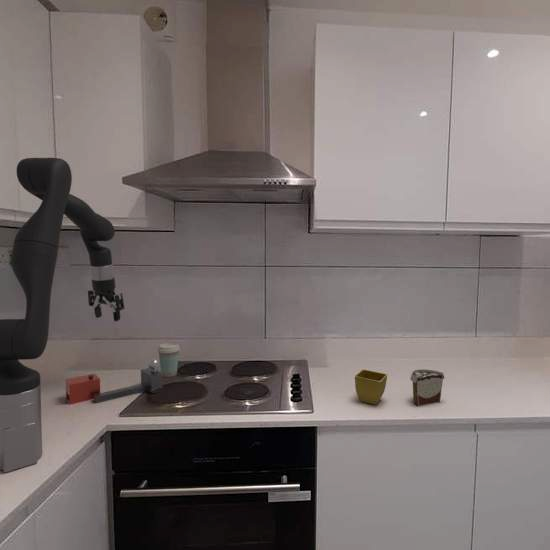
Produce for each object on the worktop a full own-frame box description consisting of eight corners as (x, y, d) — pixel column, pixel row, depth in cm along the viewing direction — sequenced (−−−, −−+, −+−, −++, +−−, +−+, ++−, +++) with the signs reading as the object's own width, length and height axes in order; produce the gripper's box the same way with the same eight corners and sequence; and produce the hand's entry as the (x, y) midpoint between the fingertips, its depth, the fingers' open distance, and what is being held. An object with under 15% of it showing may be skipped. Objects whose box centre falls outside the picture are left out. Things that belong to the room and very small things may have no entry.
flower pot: (387, 399, 122) (387, 373, 121) (379, 408, 114) (380, 381, 114) (361, 393, 126) (362, 369, 126) (353, 402, 119) (354, 376, 119)
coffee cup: (184, 374, 144) (184, 345, 143) (165, 380, 138) (165, 349, 137) (172, 369, 150) (172, 341, 149) (153, 374, 143) (153, 345, 142)
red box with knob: (100, 397, 120) (99, 376, 120) (69, 404, 114) (69, 382, 114) (95, 391, 125) (94, 371, 125) (65, 398, 119) (65, 376, 119)
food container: (429, 395, 126) (430, 367, 126) (443, 402, 120) (444, 372, 120) (401, 399, 122) (402, 371, 121) (414, 407, 116) (415, 377, 115)
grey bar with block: (165, 390, 127) (165, 361, 126) (98, 407, 113) (97, 374, 112) (154, 382, 135) (154, 354, 134) (90, 397, 120) (89, 366, 120)
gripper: (78, 277, 126) (84, 319, 131) (110, 281, 122) (115, 325, 126) (95, 271, 133) (100, 312, 138) (126, 276, 128) (130, 318, 133)
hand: (107, 318), depth 132 cm, fingers open, 8 cm apart
